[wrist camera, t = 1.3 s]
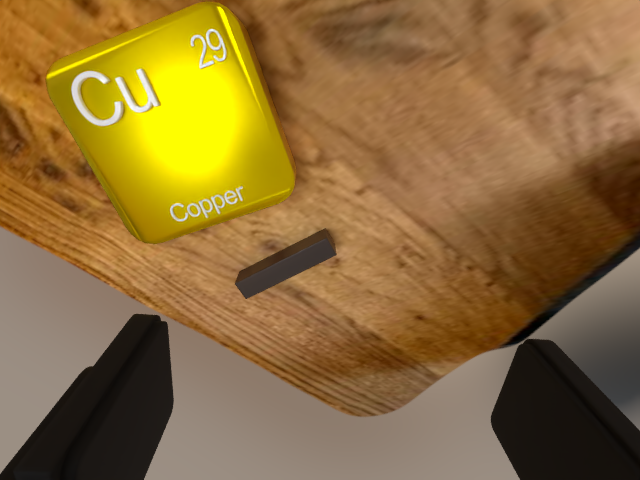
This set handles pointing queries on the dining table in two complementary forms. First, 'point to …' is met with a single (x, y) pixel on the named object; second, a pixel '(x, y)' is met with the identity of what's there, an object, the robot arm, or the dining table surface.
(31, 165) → the dining table surface
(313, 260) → the walnut ledge
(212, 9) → the element tile
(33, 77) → the dining table surface
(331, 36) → the dining table surface
